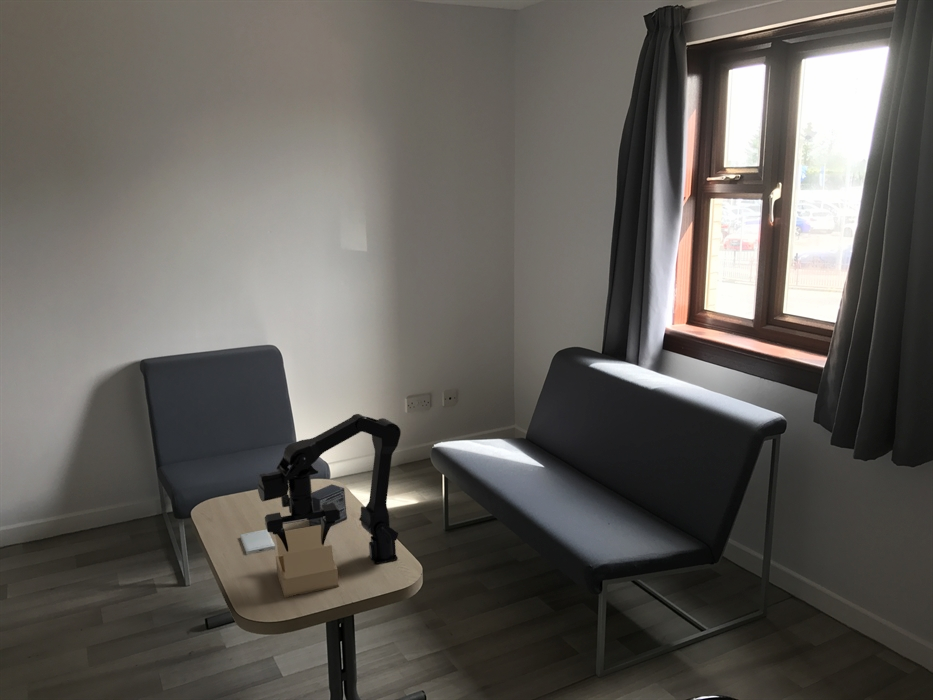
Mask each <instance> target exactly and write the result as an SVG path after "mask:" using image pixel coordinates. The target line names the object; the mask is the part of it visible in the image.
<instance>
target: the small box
mask: <svg viewBox="0 0 933 700" xmlns="http://www.w3.org/2000/svg"><path fill="white" fill-rule="evenodd" d="M312 502H313V511H318V510H321V505H326V504H332V503H334V504H336V506H337V507H338V509H339V512H340V520H337V521H335V524H332V525H331V527H333V526H335V525H337V524H339V523H342V522H344V521H345V520H347V519H348V515H347V506H346V505H347V504H346V492H345V487H342V486H339V485H336V484H330V485H326V486H324V487H322V488H320V489H317V490H315V491H312ZM308 523H309V526H308V527H311V526H316V525H321V518H316V519H310V520H308Z"/></svg>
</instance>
